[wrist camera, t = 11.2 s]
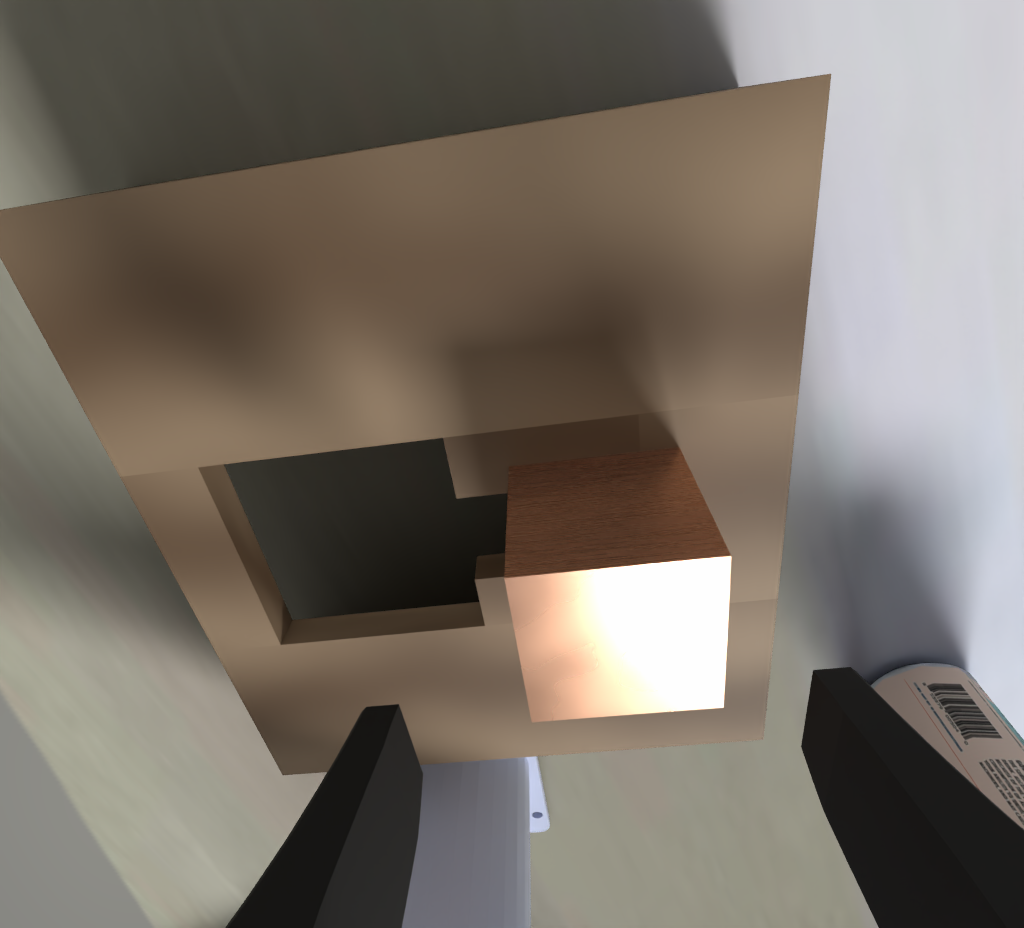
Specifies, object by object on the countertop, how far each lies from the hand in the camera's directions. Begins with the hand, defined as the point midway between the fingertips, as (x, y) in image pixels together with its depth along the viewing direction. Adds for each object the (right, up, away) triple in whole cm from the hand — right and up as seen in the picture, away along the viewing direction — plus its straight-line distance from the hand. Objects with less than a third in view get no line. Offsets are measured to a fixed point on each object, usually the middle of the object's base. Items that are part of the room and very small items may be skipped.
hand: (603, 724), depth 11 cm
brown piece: (+1, +5, +8) cm, 9 cm away
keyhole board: (-3, +5, +9) cm, 11 cm away
